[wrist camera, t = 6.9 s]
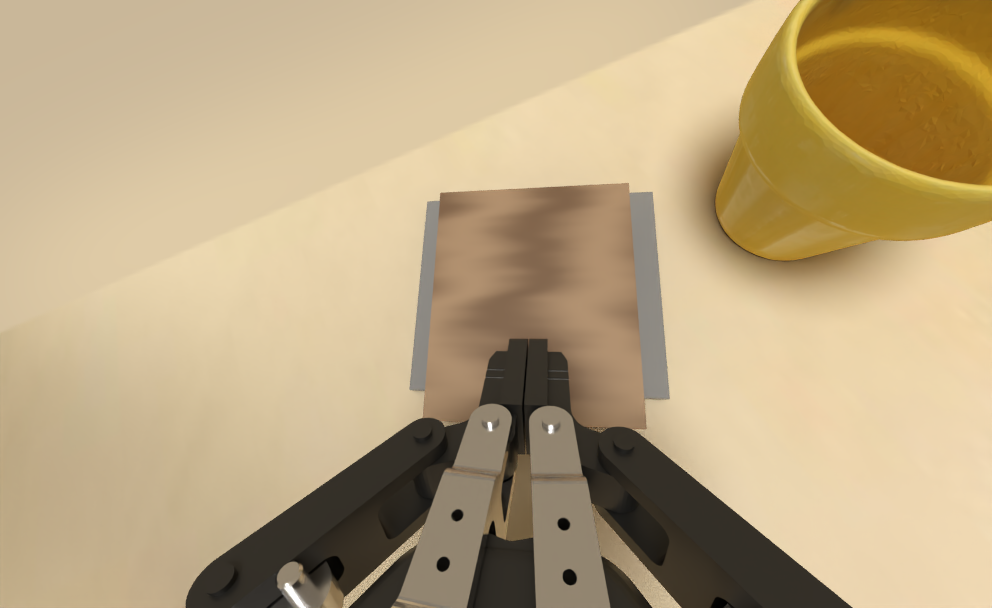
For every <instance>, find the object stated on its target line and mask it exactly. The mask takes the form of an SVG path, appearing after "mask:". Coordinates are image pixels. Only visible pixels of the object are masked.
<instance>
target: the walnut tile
mask: <svg viewBox="0 0 992 608" xmlns="http://www.w3.org/2000/svg"><path fill="white" fill-rule="evenodd" d="M510 338H511V339H528V348H529V339H548V352H562V354H563V355H564V356H565V358H566V359H567V361H568V375H569V389H570V402H571V412H572V415H573V417H574V418H575V420H576V421H577V422H578V423H579V424H581V425H582V426H584V427H605V428H611V427H626V428H630V429H646V416H645V402H644V388H643V374H642V361H641V347H640V333H639V319H638V305H637V291H636V278H635V264H634V250H633V236H632V222H631V208H630V195H629V183H622V184H603V185H583V186H564V187H545V188H526V189H506V190H487V191H468V192H448V193H440V206H439V218H438V231H437V244H436V257H435V269H434V282H433V295H432V308H431V320H430V333H429V346H428V358H427V371H426V384H425V397H424V409H423V418H434V419H437V420H439V421H457V422H465V421H467V420H468V419H469V418H470V416H471V414H472V413H473V411H474V410H476V409H477V408H478V407H479V403H480V399H481V394H482V390H483V385H484V381H485V376H486V371H487V367H488V362H489V359H490V358H491V357H492V355H493V354H494V353H495V352H496V351H508V344H509V339H510Z"/></svg>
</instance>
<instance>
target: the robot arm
mask: <svg viewBox="0 0 992 608" xmlns="http://www.w3.org/2000/svg"><path fill="white" fill-rule="evenodd" d="M525 442H526V450H527V454H530V459H531V487H532V513H533V538H528V539H523V540H518V541H508V540H506V534H507V526H508V520H509V514H510V508H511V502H512V496H513V490H514V484H515V478H516V468H517V459H518V454H525ZM591 503H593V504H594V505H595V508H596V510H597V511H598V513H599V514H600V515H601V516H602V517H603V518H604V520H605V521H606V522H607V523H608V524H609V525H610V526H611V528H612V529H613V530H614V531H615V532H616V533H617V534H618V536H619V537H620V538H621V539H622V540H623V541H624V542H625V544H626V545H627V546H628V547H629V548H630V549H631V550H632V552H633V553H634V554H635V555H636V556H637V557H638V558H639V560H640V561H641V562H642V563H643V564H644V565H645V566H646V567H647V569H648V570H649V571H650V572H651V573H652V574H653V575H654V577H655V578H656V579H657V580H658V581H659V582H660V583H661V585H662V586H663V587H664V588H665V589H666V590H667V591H668V593H669V594H670V595H671V596H672V597H673V598H674V599H675V601H676V602H677V603H678V604H679V605H680V606H681V607H682V608H852V607H851V606H850V605H849V604H847V603H846V602H845V601H844V600H842V599H841V598H840V597H839V596H838V595H836V594H835V593H834V592H833V591H831V590H830V589H829V588H828V587H826V586H825V585H824V584H823V583H822V582H820V581H819V580H818V579H817V578H815V577H814V576H813V575H812V574H811V573H809V572H808V571H807V570H806V569H804V568H803V567H802V566H801V565H799V564H798V563H797V562H796V561H795V560H793V559H792V558H791V557H790V556H788V555H787V554H786V553H785V552H784V551H782V550H781V549H780V548H779V547H777V546H776V545H775V544H774V543H773V542H771V541H770V540H769V539H768V538H766V537H765V536H764V535H763V534H761V533H760V532H759V531H758V530H757V529H755V528H754V527H753V526H752V525H750V524H749V523H748V522H747V521H746V520H744V519H743V518H742V517H741V516H739V515H738V514H737V513H736V512H734V511H733V510H732V509H731V508H730V507H728V506H727V505H726V504H725V503H723V502H722V501H721V500H720V499H719V498H717V497H716V496H715V495H714V494H712V493H711V492H710V491H709V490H708V489H706V488H705V487H704V486H703V485H701V484H700V483H699V482H698V481H696V480H695V479H694V478H693V477H692V476H690V475H689V474H688V473H687V472H685V471H684V470H683V469H682V468H681V467H679V466H678V465H677V464H676V463H674V462H673V461H672V460H671V459H669V458H668V457H667V456H666V455H665V454H663V453H662V452H661V451H660V450H658V449H657V448H656V447H655V446H654V445H652V444H651V443H650V442H649V441H647V440H646V439H645V438H644V437H643V436H641V435H640V434H639V433H637V432H636V431H634V430H632V429H629V428H626V427H611V428H608V429H606V430H605V431H603V432H602V433H599V432H596V431H593V430H590V429H588V428H586V427H584V426H582V425H581V424H579V423H578V422H577V421H576V420H575V418H574V417H573V415H572V412H571V402H570V389H569V375H568V361H567V359H566V358H565V356H564V355H563V354H562V352H548V339H529V348H528V339H511V338H510V339H509V344H508V351H496V352H495V353H494V354H493V355H492V357H491V358H490V359H489V362H488V367H487V371H486V376H485V381H484V385H483V390H482V394H481V399H480V403H479V407H478V408H477V409H476V410H474V411H473V413H472V414H471V416H470V418H469V419H468V420H467V421H465V422H462V423H460V424H456V425H451V426H447V427H444V425H443V424H442V423H441V422H440V421H439V420H437V419H434V418H421V419H418V420H416V421H414V422H412V423H411V424H409V425H408V426H406V427H405V428H403V429H402V430H401V431H399V432H398V433H396V434H395V435H393V436H392V437H391V438H389V439H388V440H386V441H385V442H383V443H382V444H380V445H379V446H378V447H376V448H375V449H373V450H372V451H370V452H369V453H368V454H366V455H365V456H363V457H362V458H360V459H359V460H358V461H356V462H355V463H353V464H352V465H350V466H349V467H348V468H346V469H345V470H343V471H342V472H340V473H339V474H337V475H336V476H335V477H333V478H332V479H330V480H329V481H327V482H326V483H325V484H323V485H322V486H320V487H319V488H317V489H316V490H315V491H313V492H312V493H310V494H309V495H307V496H306V497H305V498H303V499H302V500H300V501H299V502H297V503H296V504H295V505H293V506H292V507H290V508H289V509H287V510H286V511H284V512H283V513H282V514H280V515H279V516H277V517H276V518H274V519H273V520H272V521H270V522H269V523H267V524H266V525H264V526H263V527H262V528H260V529H259V530H257V531H256V532H254V533H253V534H252V535H250V536H249V537H247V538H246V539H244V540H243V541H241V542H240V543H239V544H237V545H236V546H234V547H233V548H231V549H230V550H229V551H227V552H226V553H224V554H223V555H221V556H220V557H219V558H217V559H216V560H214V561H213V562H212V563H211V564H210V565H208V566H207V567H206V568H205V569H204V570H203V571H202V572H201V574H200V575H199V576H198V577H197V579H196V580H195V582H194V583H193V585H192V587H191V588H190V590H189V593H188V595H187V599H186V608H342V607H343V601H344V597H345V596H346V595H347V594H349V593H350V592H351V591H352V590H353V589H354V588H355V587H356V586H357V585H358V584H360V583H361V582H362V581H363V580H364V579H365V578H366V577H367V576H368V575H369V574H370V573H372V572H373V571H374V570H375V569H376V568H377V567H378V566H379V565H380V564H381V563H382V562H384V561H385V560H386V559H387V558H388V557H389V556H390V555H391V554H392V553H393V552H394V551H396V550H397V549H398V548H399V547H400V546H401V545H402V544H403V543H404V542H405V541H407V540H408V539H409V538H410V537H411V536H412V535H413V534H414V533H415V532H416V531H417V530H419V529H420V528H421V527H422V526H423V525H424V524H425V525H424V528H423V531H422V534H421V536H420V539H419V542H418V545H416V546H415V547H413V548H411V549H410V550H408V551H407V552H406V553H405V554H403V555H402V556H401V557H400V558H399V559H398V560H397V561H396V562H395V563H394V564H393V565H392V566H391V567H389V568H388V569H387V570H386V571H385V572H384V573H383V574H382V575H381V576H380V577H379V578H378V579H377V580H376V581H375V582H374V583H373V584H372V585H371V586H370V587H369V588H368V589H367V590H366V591H365V592H364V593H363V594H362V595H361V596H360V597H359V598H358V599H357V600H356V601H355V602H354V603H353V604H352V605H351V606H350V607H349V608H652V607H651V606H650V604H649V603H648V602H647V600H646V599H645V598H644V596H643V595H642V594H641V593H640V591H639V590H638V589H637V587H636V586H635V585H634V584H633V582H632V581H631V580H630V579H629V578H628V577H627V576H626V575H625V574H624V573H623V572H622V571H621V570H620V569H619V568H618V567H617V566H615V565H614V564H613V563H612V562H610V561H609V560H607V559H606V558H604V557H602V556H601V554H600V548H599V543H598V537H597V532H596V526H595V521H594V515H593V510H592V505H591Z"/></svg>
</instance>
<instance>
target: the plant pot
mask: <svg viewBox="0 0 992 608" xmlns="http://www.w3.org/2000/svg"><path fill="white" fill-rule="evenodd" d="M739 129H740V135H739V137H738V140H737V142H736V145H735V147H734V150H733V152H732V155H731V157H730V160H729V162H728V165H727V167H726V169H725V172H724V174H723V177H722V179H721V182H720V184H719V187H718V189H717V193H716V199H715V207H716V213H717V217H718V220H719V222H720V224H721V226H722V228H723V229H724V231H725V232H726V233H727V235H728V236H729V237H730V238H731V239H732V240H733V241H734V242H735V243H736V244H738V245H739V246H741V247H742V248H744V249H745V250H747V251H749V252H751V253H753V254H755V255H758V256H761V257H764V258H767V259H772V260H785V261H789V260H798V259H803V258H807V257H811V256H815V255H819V254H823V253H827V252H831V251H834V250H838V249H842V248H846V247H850V246H854V245H858V244H862V243H866V242H870V241H874V240H879V239H881V240H893V241H911V240H924V239H931V238H937V237H942V236H946V235H950V234H954V233H957V232H960V231H964V230H967V229H969V228H972V227H975V226H978V225H981V224H984V223H987V222H990V221H992V0H800V1H799V2H798V3H797V5H796V6H795V7H794V9H793V10H792V12H791V13H790V14H789V16H788V17H787V19H786V20H785V22H784V23H783V25H782V27H781V28H780V30H779V31H778V33H777V34H776V36H775V37H774V39H773V41H772V42H771V44H770V46H769V47H768V49H767V51H766V52H765V54H764V56H763V57H762V59H761V61H760V62H759V64H758V66H757V67H756V69H755V71H754V73H753V75H752V76H751V78H750V80H749V82H748V84H747V86H746V88H745V91H744V93H743V96H742V100H741V104H740V110H739Z"/></svg>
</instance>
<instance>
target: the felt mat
mask: <svg viewBox="0 0 992 608" xmlns="http://www.w3.org/2000/svg"><path fill="white" fill-rule="evenodd" d="M629 195H630V208H631V222H632V236H633V250H634V264H635V278H636V291H637V305H638V319H639V333H640V347H641V361H642V374H643V388H644V398H648V399H670V397H669V385H668V373H667V361H666V349H665V337H664V325H663V313H662V301H661V289H660V277H659V265H658V253H657V241H656V229H655V217H654V204H653V192H641V193H629ZM439 206H440V201H430V202H427V212H426V222H425V233H424V243H423V254H422V264H421V275H420V285H419V296H418V306H417V317H416V327H415V338H414V348H413V359H412V369H411V380H410V390H421V391H425V384H426V371H427V358H428V346H429V333H430V320H431V308H432V295H433V282H434V269H435V257H436V244H437V231H438V218H439Z"/></svg>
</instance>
